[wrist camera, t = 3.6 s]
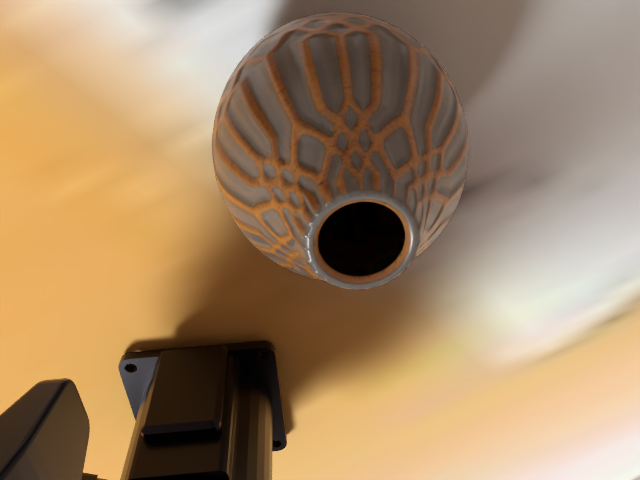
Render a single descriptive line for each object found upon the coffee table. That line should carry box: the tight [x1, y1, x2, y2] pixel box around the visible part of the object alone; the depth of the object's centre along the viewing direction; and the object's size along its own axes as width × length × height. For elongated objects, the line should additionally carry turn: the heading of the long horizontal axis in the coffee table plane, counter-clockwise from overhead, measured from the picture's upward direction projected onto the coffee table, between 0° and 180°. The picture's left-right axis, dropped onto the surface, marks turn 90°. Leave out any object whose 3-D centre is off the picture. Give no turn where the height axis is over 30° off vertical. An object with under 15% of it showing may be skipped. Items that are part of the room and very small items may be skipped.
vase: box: [212, 12, 468, 290], centre depth 15 cm, size 7×7×9 cm
